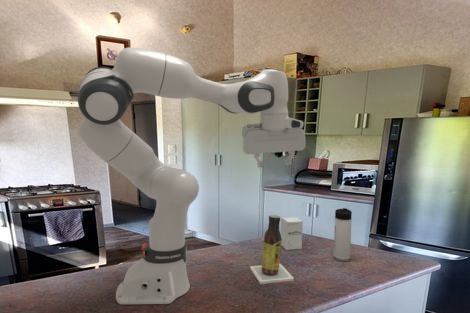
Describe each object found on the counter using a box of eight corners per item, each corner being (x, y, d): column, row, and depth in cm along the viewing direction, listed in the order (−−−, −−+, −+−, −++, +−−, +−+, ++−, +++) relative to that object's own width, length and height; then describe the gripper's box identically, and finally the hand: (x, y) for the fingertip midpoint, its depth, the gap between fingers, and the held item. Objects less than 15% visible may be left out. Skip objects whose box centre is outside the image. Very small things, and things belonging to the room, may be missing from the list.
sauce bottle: (276, 277, 102) (282, 219, 100) (259, 273, 103) (263, 217, 102) (280, 269, 108) (285, 215, 107) (263, 266, 110) (267, 213, 109)
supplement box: (286, 250, 128) (287, 221, 127) (280, 244, 135) (280, 217, 134) (302, 249, 130) (303, 221, 129) (295, 243, 137) (295, 216, 136)
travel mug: (351, 257, 121) (353, 209, 120) (348, 263, 116) (350, 212, 115) (335, 254, 125) (337, 207, 123) (331, 259, 119) (333, 210, 118)
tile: (260, 284, 99) (260, 281, 99) (250, 268, 110) (250, 266, 110) (293, 280, 101) (293, 278, 101) (280, 265, 113) (280, 263, 113)
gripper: (244, 125, 88) (245, 170, 91) (308, 121, 92) (307, 165, 95) (239, 123, 94) (240, 166, 97) (299, 120, 98) (299, 161, 101)
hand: (274, 165), depth 96 cm, fingers open, 8 cm apart
